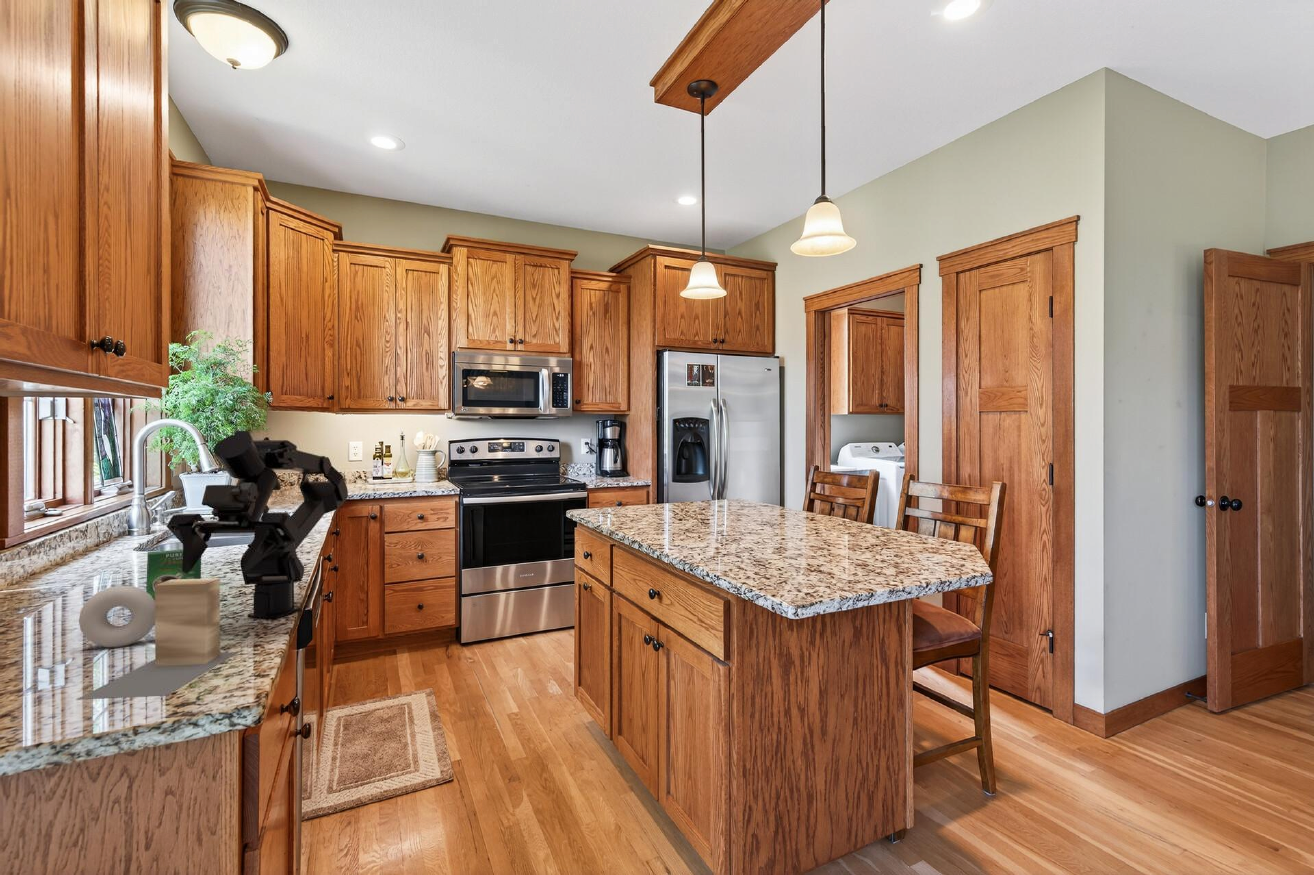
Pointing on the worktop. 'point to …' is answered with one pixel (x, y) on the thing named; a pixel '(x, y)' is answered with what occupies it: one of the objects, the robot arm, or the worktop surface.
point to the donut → (108, 634)
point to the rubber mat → (154, 679)
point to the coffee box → (167, 568)
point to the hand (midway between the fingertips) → (214, 571)
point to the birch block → (187, 621)
